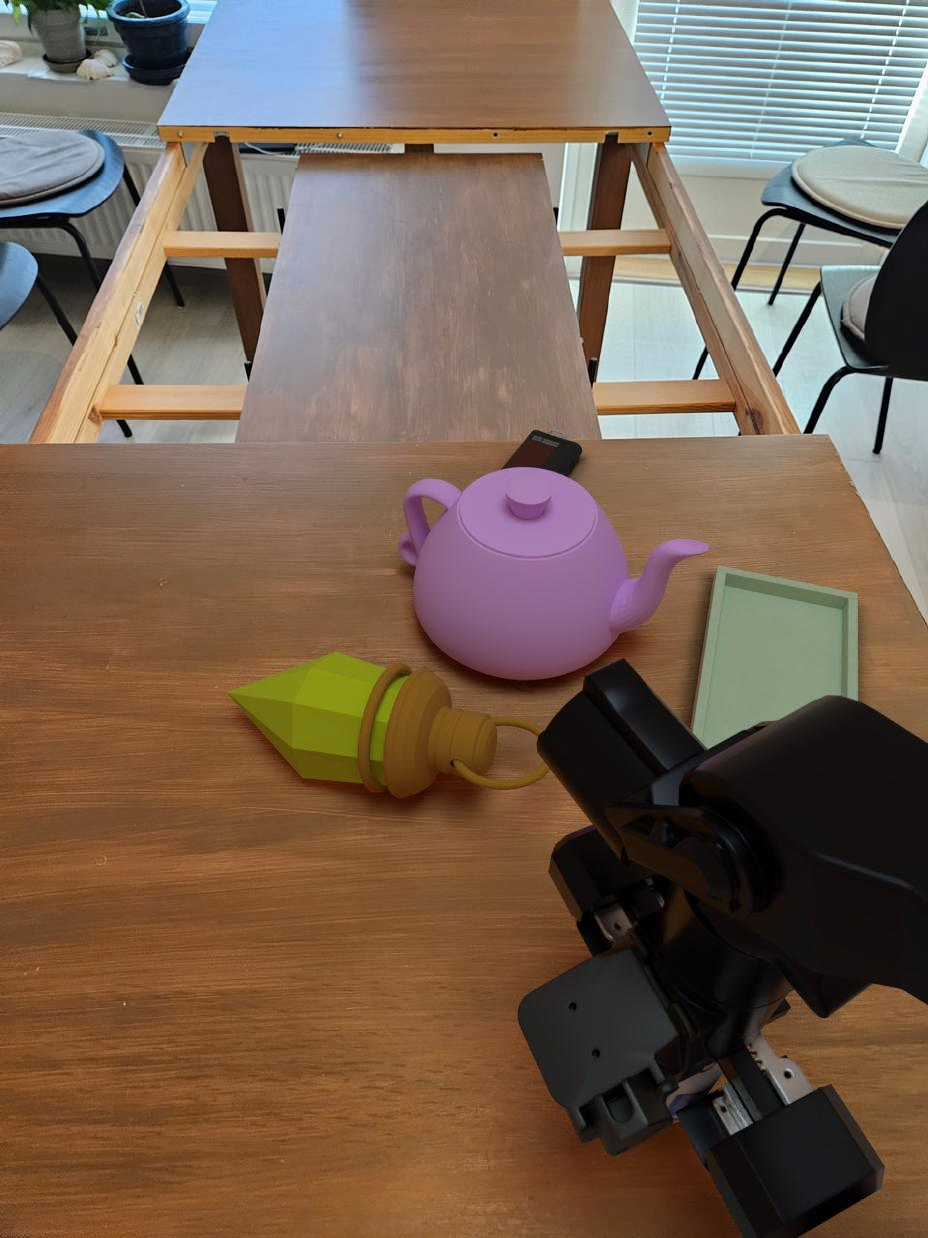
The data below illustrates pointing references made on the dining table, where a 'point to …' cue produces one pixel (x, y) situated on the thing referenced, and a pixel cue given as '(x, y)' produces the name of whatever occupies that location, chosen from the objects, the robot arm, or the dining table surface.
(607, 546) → the teapot
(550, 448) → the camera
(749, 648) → the tray
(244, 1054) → the dining table surface
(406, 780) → the plumb bob
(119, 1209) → the dining table surface
